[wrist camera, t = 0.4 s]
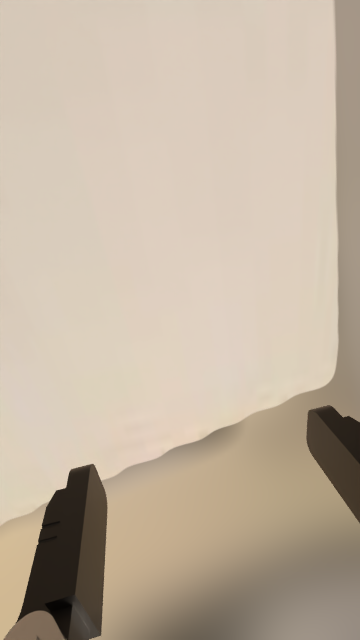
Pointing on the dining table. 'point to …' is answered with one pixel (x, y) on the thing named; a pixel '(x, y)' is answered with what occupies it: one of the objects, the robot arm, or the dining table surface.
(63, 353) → the dining table surface
